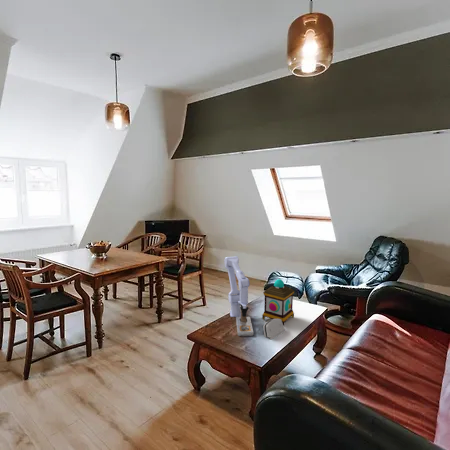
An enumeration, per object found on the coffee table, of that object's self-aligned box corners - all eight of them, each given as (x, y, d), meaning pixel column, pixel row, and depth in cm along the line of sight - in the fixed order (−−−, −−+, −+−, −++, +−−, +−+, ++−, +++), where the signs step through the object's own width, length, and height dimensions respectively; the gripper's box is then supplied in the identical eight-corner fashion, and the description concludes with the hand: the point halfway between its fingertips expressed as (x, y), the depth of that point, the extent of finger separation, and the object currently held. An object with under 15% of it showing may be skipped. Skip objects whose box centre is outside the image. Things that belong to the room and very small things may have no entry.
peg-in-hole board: (236, 320, 216) (236, 316, 215) (249, 319, 216) (249, 316, 215) (238, 335, 194) (238, 332, 193) (253, 335, 194) (253, 331, 194)
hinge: (270, 339, 189) (266, 324, 190) (265, 339, 192) (261, 323, 193) (286, 330, 200) (282, 316, 201) (280, 330, 203) (277, 316, 205)
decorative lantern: (284, 327, 204) (285, 286, 200) (259, 319, 216) (260, 280, 212) (296, 317, 220) (298, 278, 216) (272, 310, 232) (273, 273, 227)
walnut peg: (240, 322, 212) (240, 311, 211) (245, 322, 212) (246, 311, 211) (241, 324, 209) (241, 313, 208) (246, 324, 209) (246, 313, 208)
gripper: (237, 291, 215) (237, 309, 217) (238, 299, 200) (238, 318, 202) (247, 291, 215) (247, 309, 217) (249, 299, 200) (249, 318, 202)
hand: (243, 314), depth 210 cm, fingers open, 7 cm apart
